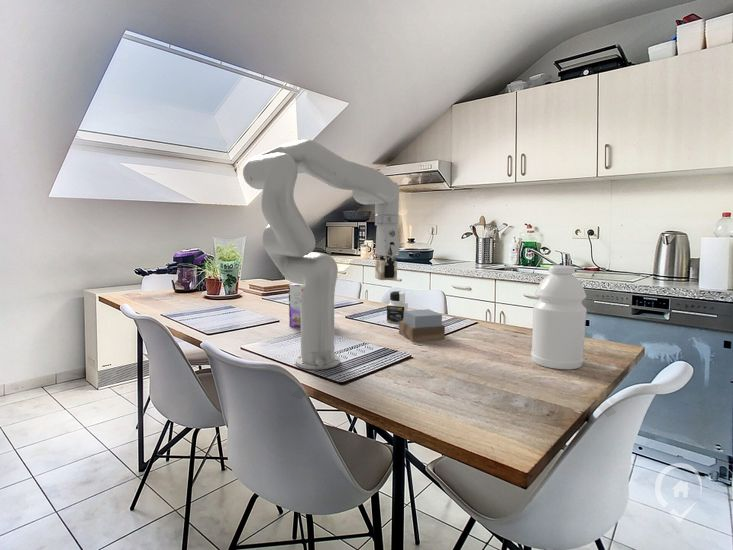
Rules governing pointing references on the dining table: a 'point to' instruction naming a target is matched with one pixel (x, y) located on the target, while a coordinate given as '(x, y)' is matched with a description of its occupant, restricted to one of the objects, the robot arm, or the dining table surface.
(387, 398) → the dining table surface
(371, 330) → the dining table surface
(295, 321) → the candy box
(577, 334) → the bottle
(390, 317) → the medicine bottle
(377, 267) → the maple block
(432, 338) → the walnut base block
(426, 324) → the slate top block
